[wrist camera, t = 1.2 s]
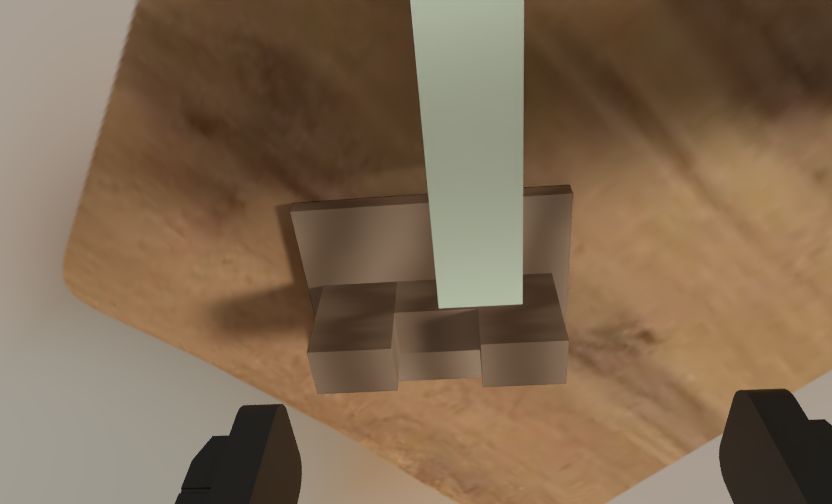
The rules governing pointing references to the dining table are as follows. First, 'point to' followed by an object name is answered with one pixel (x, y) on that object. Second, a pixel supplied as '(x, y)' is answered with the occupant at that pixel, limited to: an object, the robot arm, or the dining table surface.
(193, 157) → the dining table surface
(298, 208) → the slot plate
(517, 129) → the upright sage green panel
